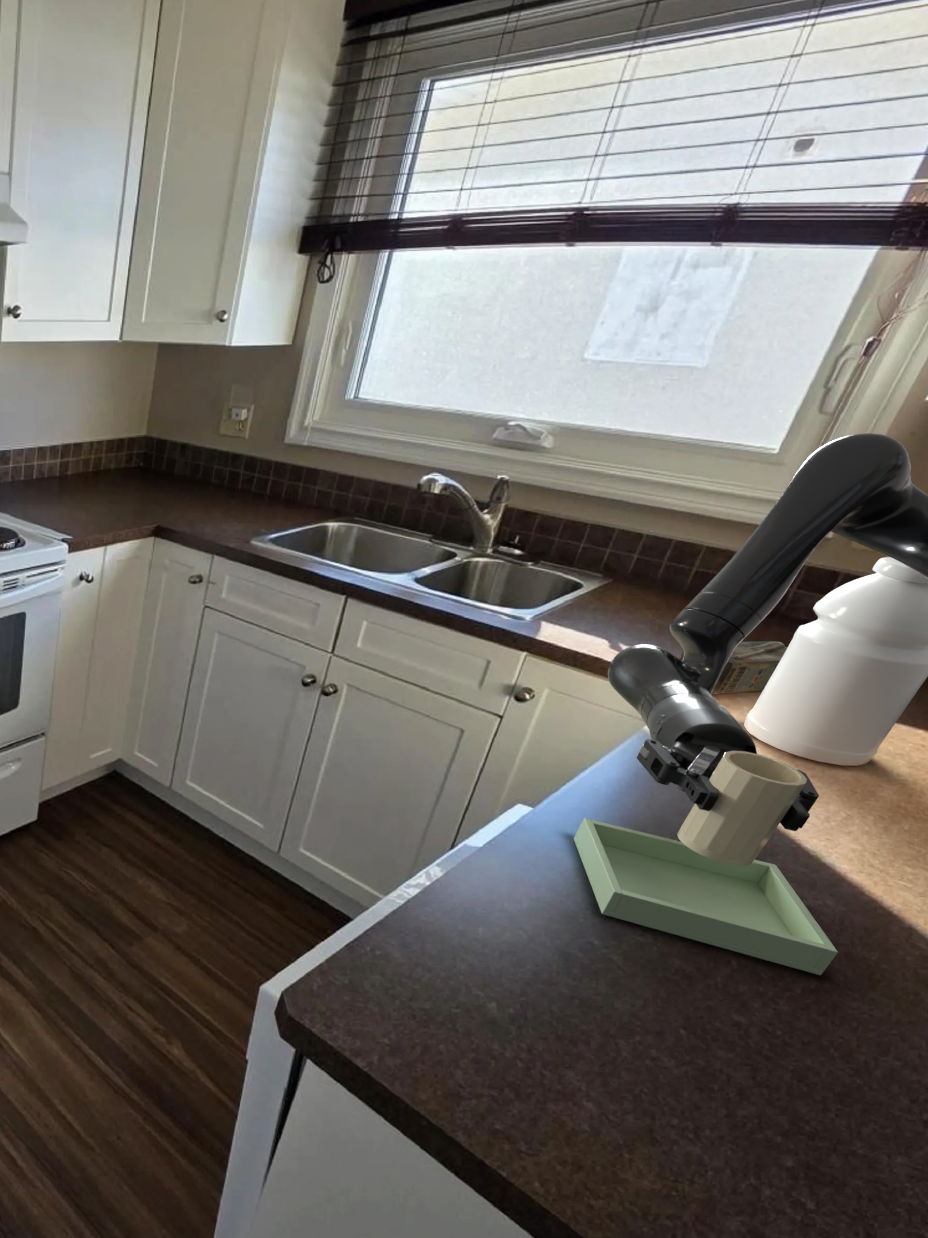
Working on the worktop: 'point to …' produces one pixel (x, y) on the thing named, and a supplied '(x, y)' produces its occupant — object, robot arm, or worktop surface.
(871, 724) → the bottle
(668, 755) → the robot arm
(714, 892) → the tray
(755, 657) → the beverage carton
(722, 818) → the cup
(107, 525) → the worktop surface
